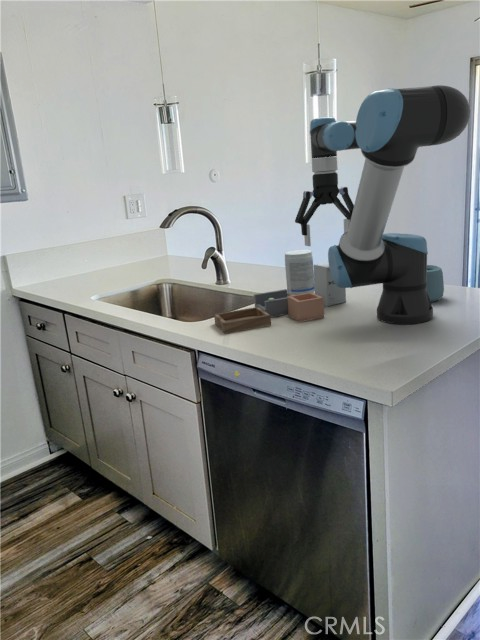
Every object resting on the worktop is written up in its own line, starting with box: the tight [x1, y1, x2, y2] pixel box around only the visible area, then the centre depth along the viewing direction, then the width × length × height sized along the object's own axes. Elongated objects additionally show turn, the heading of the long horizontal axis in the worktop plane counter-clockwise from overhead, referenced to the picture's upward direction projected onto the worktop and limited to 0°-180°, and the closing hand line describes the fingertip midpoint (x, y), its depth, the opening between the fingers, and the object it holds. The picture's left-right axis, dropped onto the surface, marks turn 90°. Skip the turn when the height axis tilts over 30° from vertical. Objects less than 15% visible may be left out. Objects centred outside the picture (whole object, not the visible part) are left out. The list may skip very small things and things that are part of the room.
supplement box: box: [313, 261, 347, 307], centre depth 167 cm, size 7×7×13 cm
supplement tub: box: [284, 249, 315, 296], centre depth 182 cm, size 10×10×15 cm
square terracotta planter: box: [287, 292, 325, 323], centre depth 155 cm, size 8×8×6 cm
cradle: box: [253, 288, 295, 318], centre depth 164 cm, size 12×11×6 cm
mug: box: [427, 264, 445, 303], centre depth 163 cm, size 15×11×10 cm
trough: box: [213, 306, 272, 334], centre depth 154 cm, size 11×14×3 cm
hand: (327, 243), depth 164 cm, fingers open, 13 cm apart
